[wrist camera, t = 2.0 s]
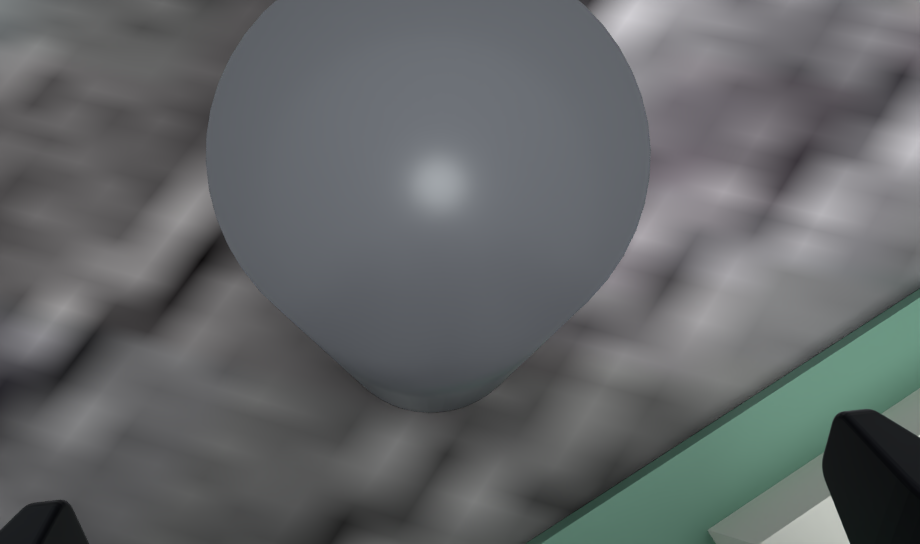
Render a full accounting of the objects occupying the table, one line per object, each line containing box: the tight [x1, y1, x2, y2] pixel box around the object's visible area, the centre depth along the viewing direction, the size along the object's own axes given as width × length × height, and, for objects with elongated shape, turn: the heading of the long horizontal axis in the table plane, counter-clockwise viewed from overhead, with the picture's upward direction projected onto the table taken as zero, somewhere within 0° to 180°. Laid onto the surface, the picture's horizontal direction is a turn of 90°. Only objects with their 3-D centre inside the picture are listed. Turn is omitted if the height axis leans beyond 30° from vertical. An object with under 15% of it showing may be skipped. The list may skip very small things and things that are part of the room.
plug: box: [206, 0, 651, 413], centre depth 15 cm, size 6×5×12 cm
